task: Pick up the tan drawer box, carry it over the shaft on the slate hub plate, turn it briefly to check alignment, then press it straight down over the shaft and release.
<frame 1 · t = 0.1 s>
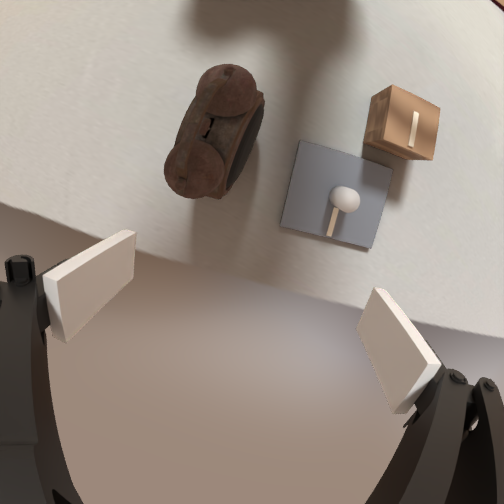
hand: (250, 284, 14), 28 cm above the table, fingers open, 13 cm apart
hub plate: (337, 195, 39), on the table
alarm clock: (232, 143, 38), on the table
tan drawer box: (390, 128, 35), on the table
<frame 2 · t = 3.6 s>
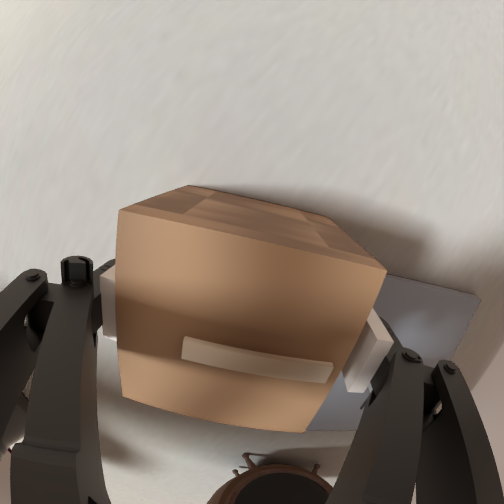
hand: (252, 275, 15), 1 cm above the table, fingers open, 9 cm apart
hub plate: (381, 366, 18), on the table
alarm clock: (275, 463, 24), on the table
tan drawer box: (242, 266, 16), on the table, touching gripper
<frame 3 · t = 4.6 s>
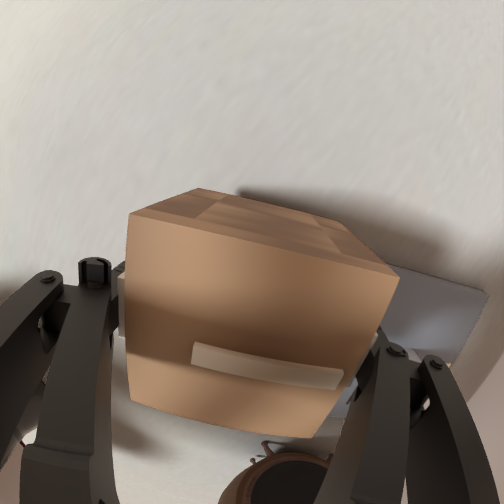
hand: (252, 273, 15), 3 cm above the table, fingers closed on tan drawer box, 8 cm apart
hub plate: (396, 356, 20), on the table
alarm clock: (291, 452, 25), on the table
tan drawer box: (253, 270, 16), point 2 cm above the table, touching gripper
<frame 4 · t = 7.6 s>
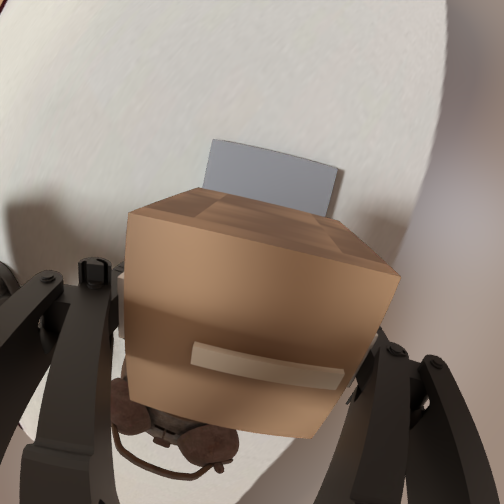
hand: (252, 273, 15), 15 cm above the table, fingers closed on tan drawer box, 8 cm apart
hub plate: (259, 221, 29), on the table
alarm clock: (200, 338, 35), on the table
tan drawer box: (253, 270, 16), point 14 cm above the table, touching gripper
when the fingers open (3 cm above the table, at t = 10.5 s): tan drawer box stays where it is, resting on hub plate.
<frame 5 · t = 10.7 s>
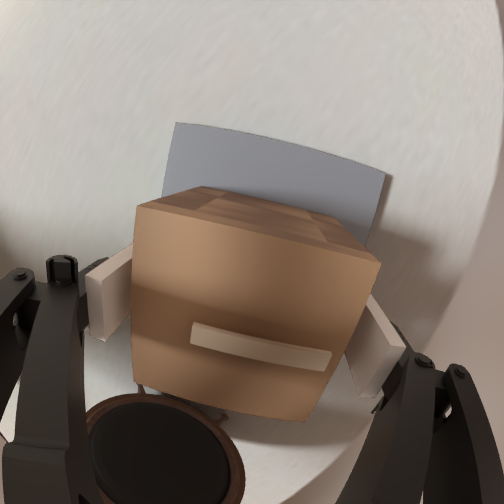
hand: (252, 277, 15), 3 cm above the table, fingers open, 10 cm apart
hub plate: (255, 257, 18), on the table
alarm clock: (177, 403, 23), on the table
tan drawer box: (252, 263, 17), point 1 cm above the table, touching hub plate
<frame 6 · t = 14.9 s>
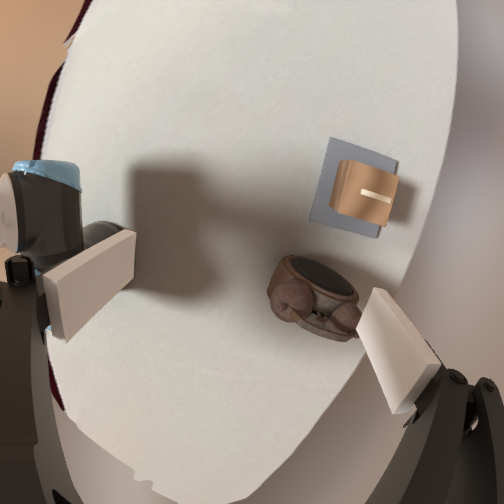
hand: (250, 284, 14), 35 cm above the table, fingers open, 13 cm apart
hub plate: (354, 188, 45), on the table
alarm clock: (307, 271, 51), on the table
tan drawer box: (355, 189, 44), point 1 cm above the table, touching hub plate
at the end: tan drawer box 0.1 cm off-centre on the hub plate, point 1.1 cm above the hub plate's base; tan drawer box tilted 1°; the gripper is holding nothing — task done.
